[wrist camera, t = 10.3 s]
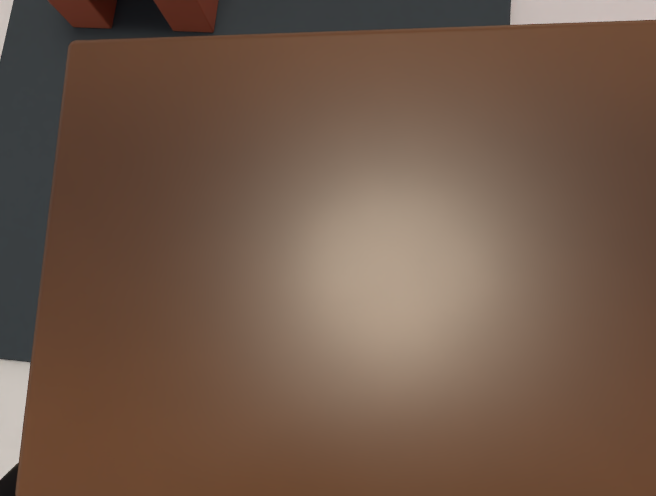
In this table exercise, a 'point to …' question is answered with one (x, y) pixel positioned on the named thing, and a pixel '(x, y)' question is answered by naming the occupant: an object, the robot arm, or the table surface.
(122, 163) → the letter I
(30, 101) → the word mat
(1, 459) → the table surface
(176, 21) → the letter H
